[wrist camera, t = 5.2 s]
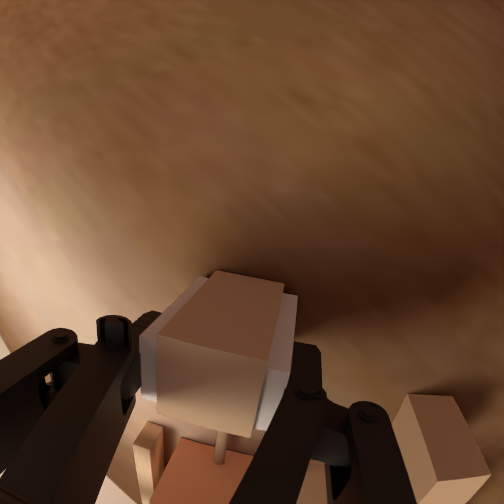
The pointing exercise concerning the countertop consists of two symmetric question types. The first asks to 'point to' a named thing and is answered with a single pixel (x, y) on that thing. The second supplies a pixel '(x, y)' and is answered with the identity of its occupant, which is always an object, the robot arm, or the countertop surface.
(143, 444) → the shelf
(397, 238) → the countertop surface
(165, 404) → the tether block terracotta
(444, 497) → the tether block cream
